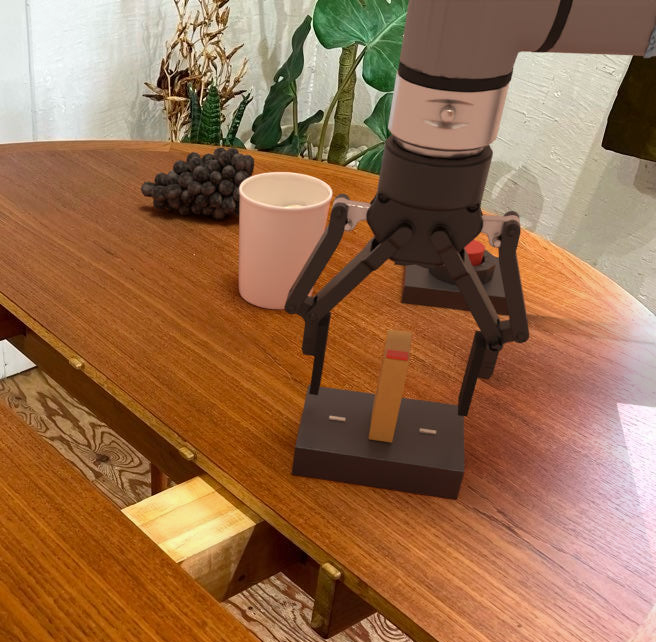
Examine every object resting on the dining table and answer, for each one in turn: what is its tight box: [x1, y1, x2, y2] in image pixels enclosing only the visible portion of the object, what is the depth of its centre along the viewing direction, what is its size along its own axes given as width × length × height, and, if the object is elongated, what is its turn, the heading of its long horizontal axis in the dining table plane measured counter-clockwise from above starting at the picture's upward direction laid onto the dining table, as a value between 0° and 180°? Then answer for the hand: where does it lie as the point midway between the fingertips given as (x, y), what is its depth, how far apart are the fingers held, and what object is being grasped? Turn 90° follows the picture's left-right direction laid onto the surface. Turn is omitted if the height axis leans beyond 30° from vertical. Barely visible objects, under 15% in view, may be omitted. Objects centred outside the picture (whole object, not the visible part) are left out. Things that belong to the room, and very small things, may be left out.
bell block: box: [400, 249, 509, 317], centre depth 109 cm, size 12×10×4 cm
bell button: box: [465, 239, 486, 266], centre depth 107 cm, size 4×4×2 cm
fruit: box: [140, 147, 255, 220], centre depth 124 cm, size 9×8×15 cm
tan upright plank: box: [369, 329, 413, 443], centre depth 81 cm, size 5×2×8 cm, turn 166°
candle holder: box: [238, 171, 333, 310], centre depth 105 cm, size 10×10×12 cm
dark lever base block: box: [291, 384, 466, 500], centre depth 85 cm, size 14×10×3 cm
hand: (387, 396), depth 82 cm, fingers open, 12 cm apart
